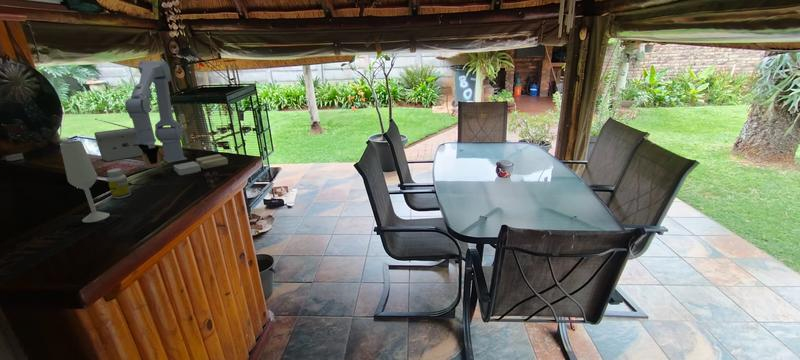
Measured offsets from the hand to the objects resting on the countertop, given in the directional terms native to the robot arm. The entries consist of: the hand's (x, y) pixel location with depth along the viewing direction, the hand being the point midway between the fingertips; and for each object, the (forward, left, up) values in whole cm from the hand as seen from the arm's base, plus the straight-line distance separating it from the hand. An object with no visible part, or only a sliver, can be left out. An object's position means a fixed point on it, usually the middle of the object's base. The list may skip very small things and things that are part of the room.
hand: (152, 161), depth 145 cm
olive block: (+1, +22, -6) cm, 23 cm away
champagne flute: (+32, -23, -6) cm, 40 cm away
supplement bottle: (+17, -14, -6) cm, 23 cm away
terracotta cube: (0, 0, -2) cm, 2 cm away
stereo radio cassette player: (-39, -2, -6) cm, 39 cm away
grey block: (+4, +11, -6) cm, 13 cm away
